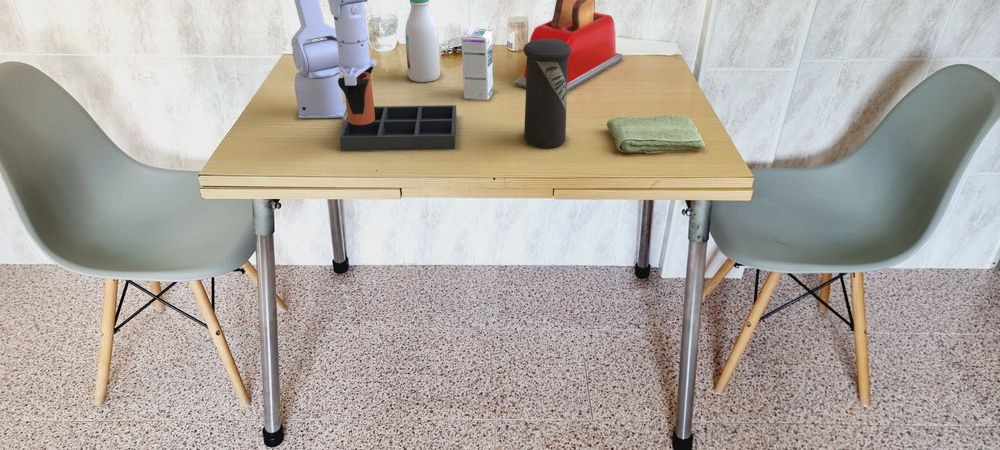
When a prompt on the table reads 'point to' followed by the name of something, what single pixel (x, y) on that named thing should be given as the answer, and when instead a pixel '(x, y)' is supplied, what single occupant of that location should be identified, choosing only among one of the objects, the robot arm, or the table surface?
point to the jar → (369, 105)
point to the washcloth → (655, 134)
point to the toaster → (580, 40)
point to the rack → (403, 129)
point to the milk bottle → (422, 43)
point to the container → (546, 92)
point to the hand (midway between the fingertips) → (360, 107)
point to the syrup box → (477, 64)
